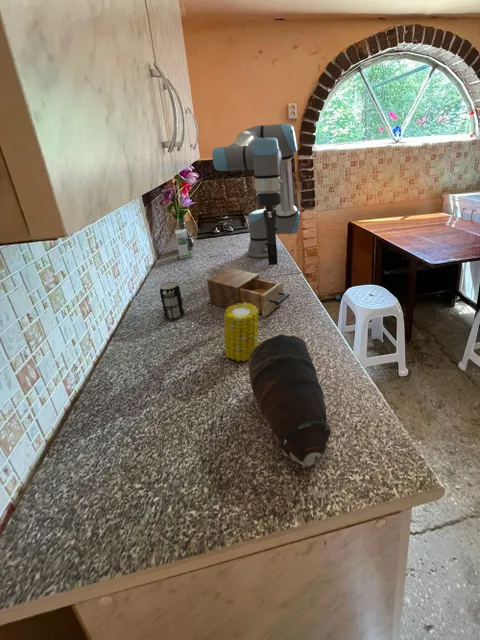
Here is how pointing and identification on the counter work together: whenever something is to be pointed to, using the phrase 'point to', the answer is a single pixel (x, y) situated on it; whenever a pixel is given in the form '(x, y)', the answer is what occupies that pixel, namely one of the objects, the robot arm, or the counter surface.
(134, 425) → the counter surface
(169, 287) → the beverage can
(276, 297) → the drawer
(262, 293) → the short wooden cylinder
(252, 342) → the food
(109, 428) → the counter surface
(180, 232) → the syrup box
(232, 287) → the cabinet
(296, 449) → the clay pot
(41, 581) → the counter surface
